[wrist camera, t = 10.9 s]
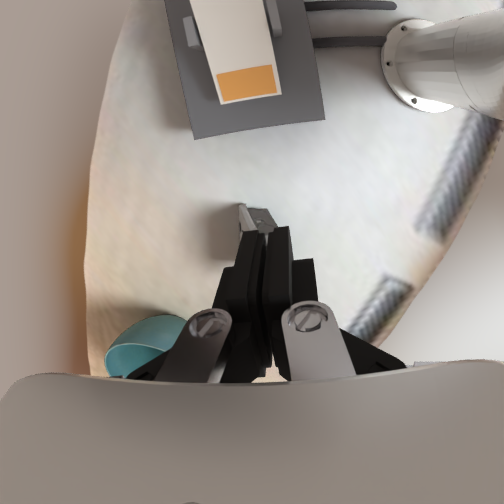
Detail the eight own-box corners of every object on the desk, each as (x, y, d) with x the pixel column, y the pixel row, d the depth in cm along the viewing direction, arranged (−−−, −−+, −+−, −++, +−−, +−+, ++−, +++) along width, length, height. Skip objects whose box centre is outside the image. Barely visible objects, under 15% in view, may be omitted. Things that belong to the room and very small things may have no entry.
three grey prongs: (387, -24, 24) (389, -26, 23) (402, 46, 29) (406, 45, 28) (291, -23, 26) (291, -26, 25) (307, 49, 31) (308, 48, 30)
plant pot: (113, 318, 56) (87, 364, 46) (169, 275, 49) (142, 327, 39) (179, 371, 63) (164, 418, 52) (243, 341, 55) (234, 397, 45)
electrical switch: (238, 201, 42) (235, 233, 34) (277, 201, 42) (283, 233, 34) (240, 260, 47) (238, 301, 39) (275, 260, 47) (280, 300, 39)
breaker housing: (286, -44, 24) (286, -82, 15) (319, 114, 35) (332, 126, 25) (175, -21, 26) (139, -47, 17) (207, 131, 37) (180, 149, 28)
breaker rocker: (247, -58, 16) (247, -60, 15) (281, 90, 28) (281, 94, 27) (179, -42, 17) (176, -42, 16) (222, 100, 29) (220, 105, 28)
